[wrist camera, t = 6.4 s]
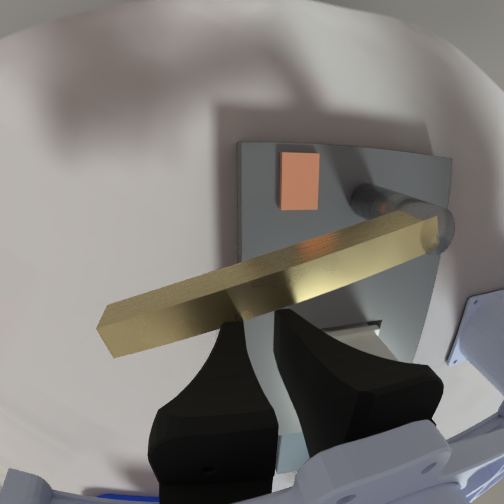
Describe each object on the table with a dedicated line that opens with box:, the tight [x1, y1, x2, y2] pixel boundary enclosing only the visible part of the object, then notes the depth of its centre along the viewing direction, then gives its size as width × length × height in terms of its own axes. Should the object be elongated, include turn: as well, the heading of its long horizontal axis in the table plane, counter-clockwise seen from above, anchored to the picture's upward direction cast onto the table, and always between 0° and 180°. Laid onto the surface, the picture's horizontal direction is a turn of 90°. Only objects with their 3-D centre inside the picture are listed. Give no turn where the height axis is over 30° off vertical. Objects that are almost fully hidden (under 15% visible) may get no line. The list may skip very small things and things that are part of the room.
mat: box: [276, 432, 310, 474], centre depth 27 cm, size 9×9×1 cm
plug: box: [320, 322, 399, 361], centre depth 20 cm, size 5×7×6 cm
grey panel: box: [237, 142, 452, 436], centre depth 21 cm, size 14×22×2 cm, turn 0°
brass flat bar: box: [96, 183, 455, 358], centre depth 14 cm, size 2×14×6 cm, turn 106°
